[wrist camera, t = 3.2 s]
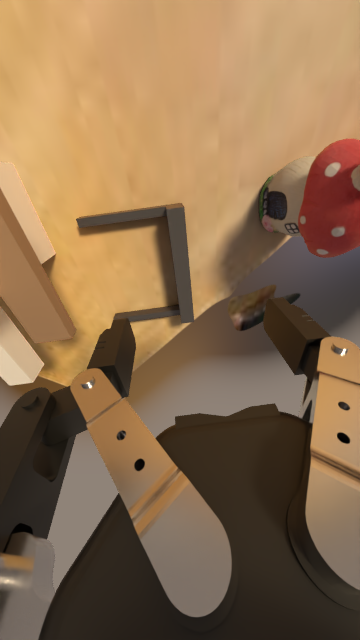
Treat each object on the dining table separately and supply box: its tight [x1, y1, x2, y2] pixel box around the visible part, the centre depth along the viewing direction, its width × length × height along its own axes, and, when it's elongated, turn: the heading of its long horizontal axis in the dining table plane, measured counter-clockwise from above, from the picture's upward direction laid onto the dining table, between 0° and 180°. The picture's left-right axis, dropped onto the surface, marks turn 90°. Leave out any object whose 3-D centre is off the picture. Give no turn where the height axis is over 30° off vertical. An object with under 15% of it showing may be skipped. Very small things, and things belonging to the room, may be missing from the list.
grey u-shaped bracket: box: [76, 203, 194, 323], centre depth 29 cm, size 13×16×4 cm
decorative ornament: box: [259, 139, 360, 258], centre depth 20 cm, size 9×6×15 cm
